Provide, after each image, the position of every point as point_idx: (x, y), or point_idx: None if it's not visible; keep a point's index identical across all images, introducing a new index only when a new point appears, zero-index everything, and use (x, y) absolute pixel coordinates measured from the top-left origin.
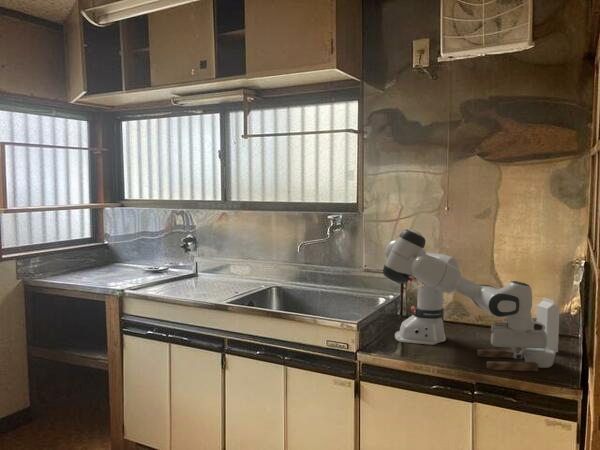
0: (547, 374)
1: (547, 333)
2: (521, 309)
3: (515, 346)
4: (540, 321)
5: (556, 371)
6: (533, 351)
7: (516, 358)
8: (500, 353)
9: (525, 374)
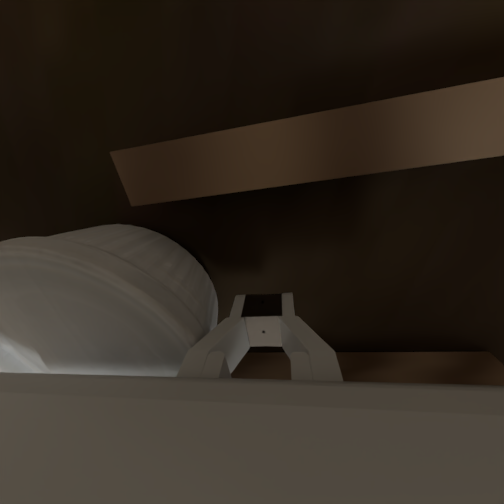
0: (75, 83)
1: None
2: None
3: (315, 394)
4: None
5: (38, 179)
6: (121, 343)
7: (279, 294)
8: (353, 375)
9: (255, 9)
